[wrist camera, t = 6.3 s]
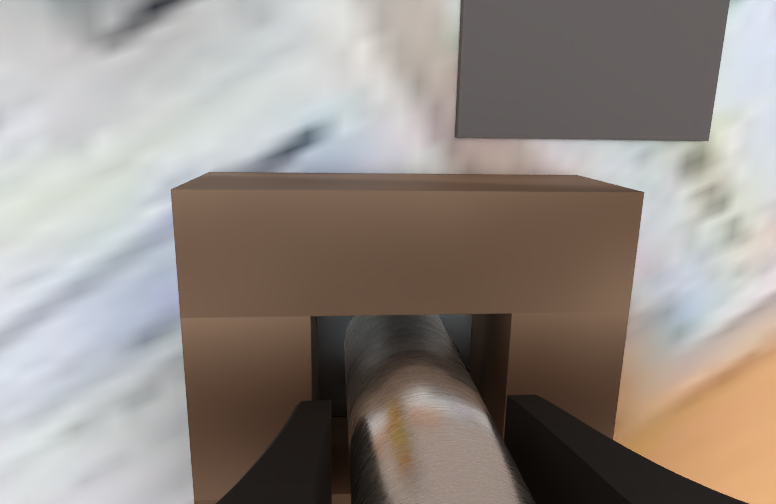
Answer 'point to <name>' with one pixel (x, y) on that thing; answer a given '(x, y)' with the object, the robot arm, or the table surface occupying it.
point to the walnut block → (394, 293)
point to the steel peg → (420, 419)
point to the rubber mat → (589, 68)
